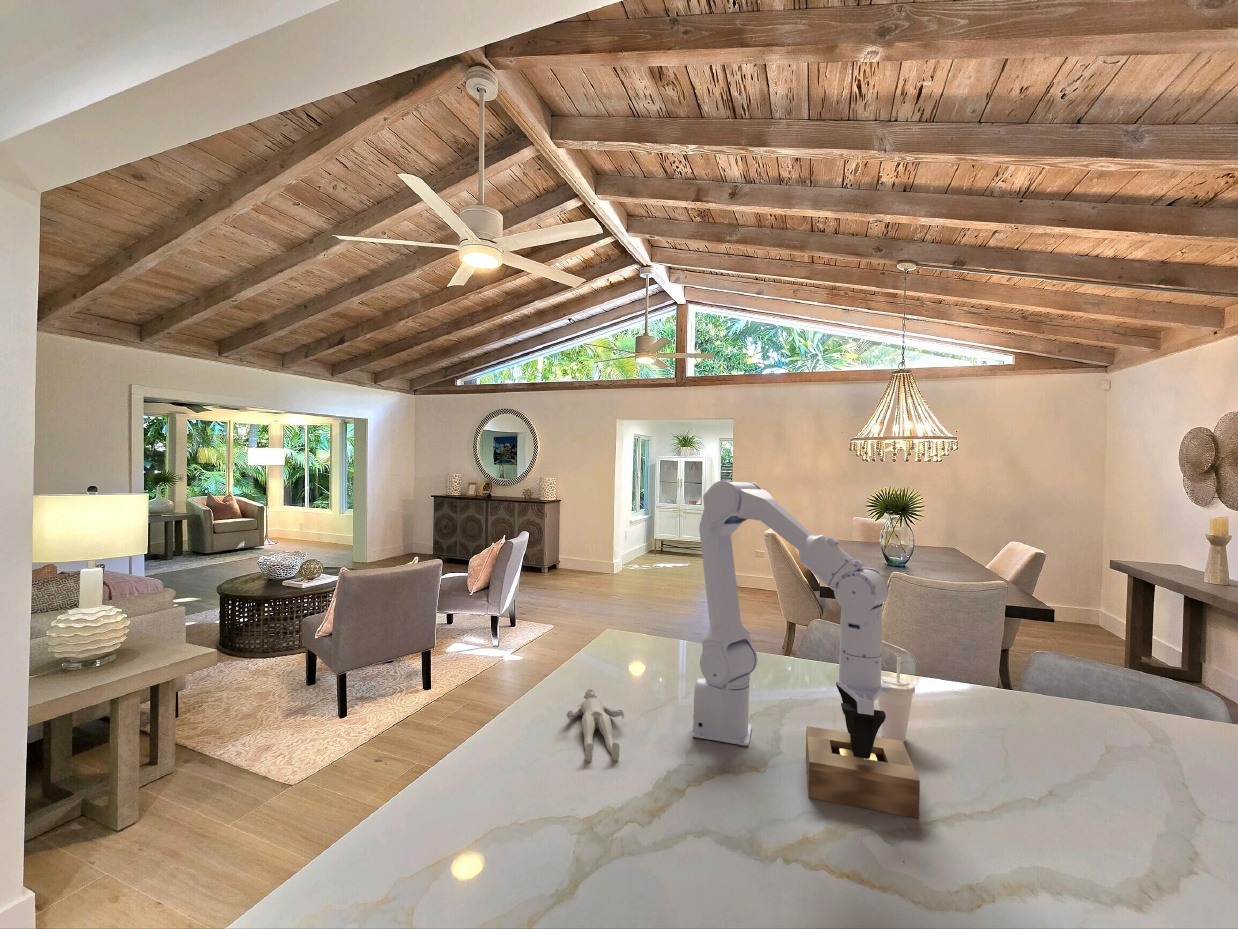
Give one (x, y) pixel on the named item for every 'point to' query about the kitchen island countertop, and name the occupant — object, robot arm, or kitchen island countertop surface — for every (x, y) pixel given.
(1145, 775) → the kitchen island countertop surface
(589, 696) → the male figure
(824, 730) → the brown rectangular hollow block
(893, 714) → the smoothie
